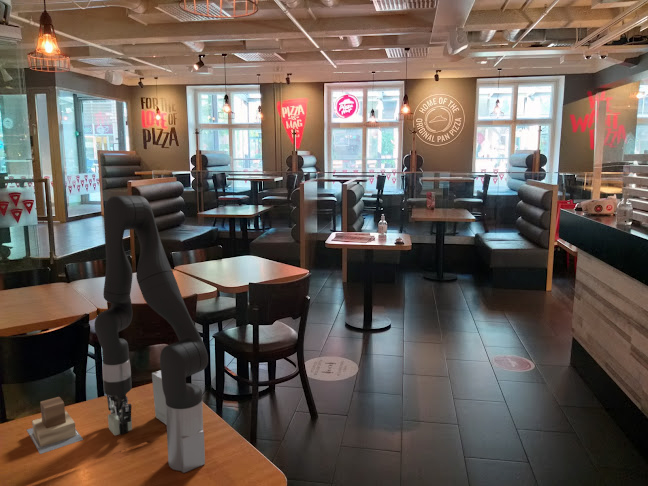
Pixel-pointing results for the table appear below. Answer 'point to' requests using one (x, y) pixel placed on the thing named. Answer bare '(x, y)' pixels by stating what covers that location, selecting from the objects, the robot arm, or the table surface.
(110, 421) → the block
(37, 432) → the pedestal
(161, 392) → the skincare box
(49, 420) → the block
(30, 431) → the plate
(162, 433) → the table surface
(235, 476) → the table surface
